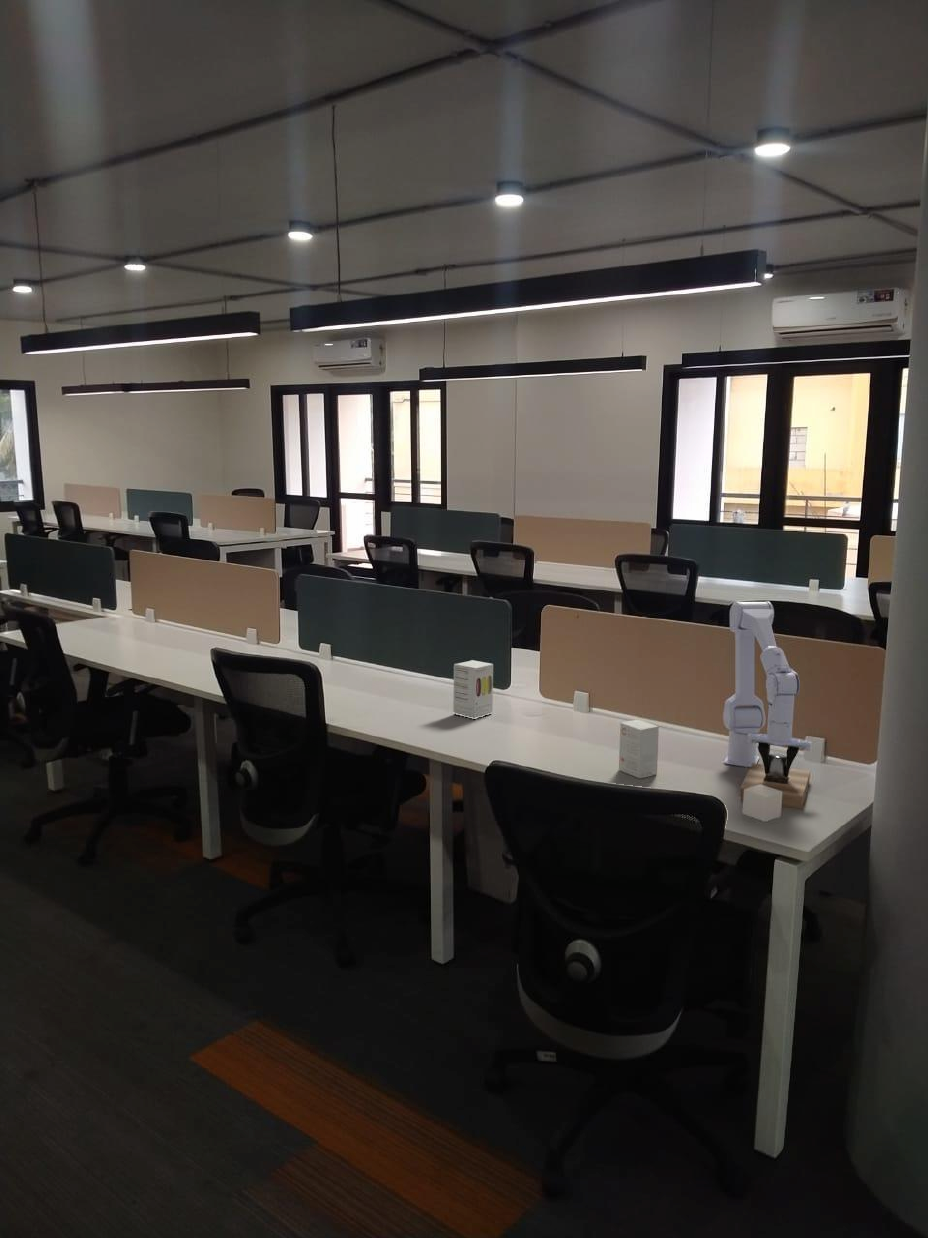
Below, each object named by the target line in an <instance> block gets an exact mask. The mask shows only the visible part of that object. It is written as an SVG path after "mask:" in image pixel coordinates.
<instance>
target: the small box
mask: <svg viewBox="0 0 928 1238" xmlns="http://www.w3.org/2000/svg"><path fill="white" fill-rule="evenodd" d="M619 728H620V730H619V731H620V732H619V751H618V752H619V753H618V755H619V756H618V757H619V758H618V759H619V760H618V771H621V772H623V773H625V774H628V775H631V776H632V777H635V778H636V779H637V778H638V779H644V778H647V777H652V776H656V775H658V759H659V758H658V757H659V755H658V754H659V731H660V730H659V729H660V727H659V726H658V725H655V724H652V723H649V722H646V721H643V720H641V719H634V720H627V721H622V722H620V727H619Z"/></svg>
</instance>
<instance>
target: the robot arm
mask: <svg viewBox="0 0 928 1238" xmlns="http://www.w3.org/2000/svg"><path fill="white" fill-rule="evenodd" d="M774 618H775V609H774V606H773V604H772V603H771V602H770V601H768V600H767V601H736V600H735V601H734V602H733V603H732V605H731V607H730V609H729V630H730V632H733V633H734V638H735V643H734V644H735V646H734V648H735V649H734V650H735V653H734V654H735V657H734V658H735V661H734V663H735V664H734V665H735V666H734V667H735V669H734V671H735V675H734V676H735V681H734V682H735V688H734V689H735V693H734V694H733V695H732V696H730V697H729V698H727V699H726V700H725V702H724V707H723V708H724V709H723V712H722V722H723V725H724V727H726V728H725V729H727V730H728V747H727V756H726V758H725V759H724V761H723V763H724V764H727V765H733V766H737V767H738V766H739V767H746V768H750V767H751V765H752V763H755V764H758V763H759V760H760V757H761V760H762V765H764V769H765V774H768V766H769V755H770V754H771V752H770V751H771V746H774V747H775V746H776V747H782V748H783V747H784V748H787V749H786V769H785V777H788V775H789V770H790V769H791V767H792V764H793V761H794V760H795V758H796V756H798V755H797V754H799V750H805V751H807V752H808V751H809V752H810V751H811V747H812V741H811V740H806V739H801V738H797V737H796V738H795V737H793V736H792V735H793V723H794V709H795V696H798V695H799V693H800V688H801V682H800V677H799V674H798V673H797V672H796V671H794V669H793V668H791V667H790V665H789V663H788V660H787V657H786V655H785V652H784V650H783V649H782V648H781V647H778V646H777V643H776V640H775V639H776V638H775V635H774V630H773V626H772V625H773V622H774ZM755 639H756V641H757V643H758V644H759V646H760V648H761V649H760V650H761V651H762V652H761V654H760V656H759V658H760V661H761V664H762V666H763V670H764V671H765V675H766V680H765V688H766V689H765V690H766V699H767V702H768V711H767V728H766V730H767V731H766V733H764V734H763V733H760V731H761V729H763V727H764V726H765V724H766V712H765V709H764V702H763V700H762V699H760V698H759V697H758V696H757V695H755ZM757 744H758V745H757ZM757 749H758V750H757ZM757 751H758V752H759V755H760V756H758V755H757Z"/></svg>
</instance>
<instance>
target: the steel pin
mask: <svg viewBox="0 0 928 1238" xmlns="http://www.w3.org/2000/svg"><path fill="white" fill-rule="evenodd" d="M786 757H787V755H785V754H780V753H770V754H769V766H768V782H775V783H782V784H785V769H786Z"/></svg>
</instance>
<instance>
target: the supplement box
mask: <svg viewBox="0 0 928 1238" xmlns="http://www.w3.org/2000/svg"><path fill="white" fill-rule="evenodd" d="M493 694H494V664H493V663H492V662H491V663H489V662H484V661H479V660H474V659H471V660H469V661H464V662H462V661H461V662H458V663H454V664H453V698H452V699H453V701H452V704H453V707H452V708H453V709H452V710H453V712H455V713H458V714H462V715H465V716H469V717H473V718H475V717H478V716H482V715H485V714H488V713H491V712H492V713H493V696H494V695H493Z"/></svg>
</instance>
